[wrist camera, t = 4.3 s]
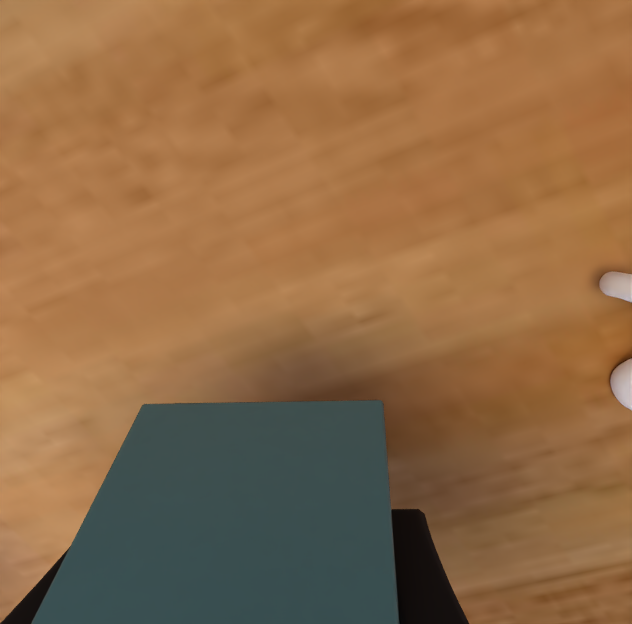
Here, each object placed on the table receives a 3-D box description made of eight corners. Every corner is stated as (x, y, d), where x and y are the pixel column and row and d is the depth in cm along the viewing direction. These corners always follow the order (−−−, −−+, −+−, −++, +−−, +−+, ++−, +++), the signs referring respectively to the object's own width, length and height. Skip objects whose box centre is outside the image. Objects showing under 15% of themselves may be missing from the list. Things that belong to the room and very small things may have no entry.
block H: (382, 398, 11) (402, 656, 7) (385, 564, 13) (399, 836, 9) (141, 402, 11) (14, 650, 7) (183, 562, 13) (106, 823, 9)
